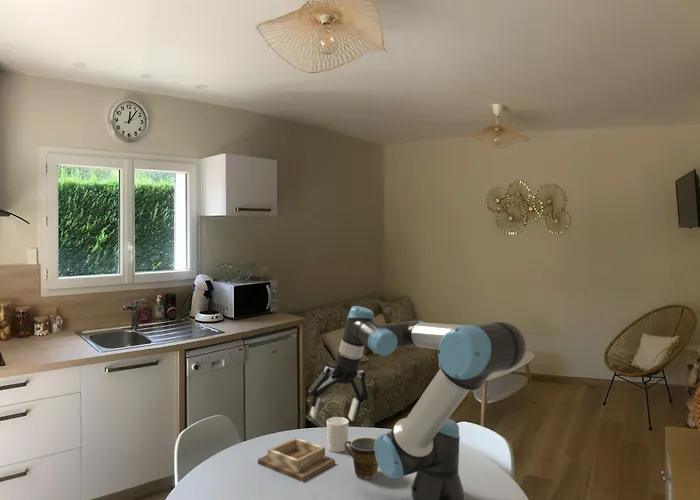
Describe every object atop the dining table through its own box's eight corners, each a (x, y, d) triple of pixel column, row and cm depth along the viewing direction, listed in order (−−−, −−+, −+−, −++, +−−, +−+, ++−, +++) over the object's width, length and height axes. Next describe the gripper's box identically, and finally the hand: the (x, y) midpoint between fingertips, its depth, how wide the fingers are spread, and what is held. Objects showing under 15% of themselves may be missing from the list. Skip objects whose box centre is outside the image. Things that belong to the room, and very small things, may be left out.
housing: (334, 463, 173) (335, 449, 172) (302, 481, 160) (302, 465, 160) (291, 447, 185) (291, 434, 184) (257, 463, 172) (257, 448, 172)
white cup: (322, 446, 187) (323, 418, 186) (342, 442, 190) (343, 415, 190) (331, 454, 180) (331, 426, 179) (351, 451, 183) (352, 423, 183)
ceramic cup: (386, 472, 167) (387, 441, 167) (372, 485, 158) (372, 453, 158) (352, 462, 174) (352, 433, 173) (336, 474, 165) (336, 443, 165)
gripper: (378, 354, 171) (361, 414, 174) (309, 345, 161) (292, 408, 163) (388, 363, 165) (370, 425, 167) (317, 354, 154) (299, 420, 156)
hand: (331, 417), depth 165 cm, fingers open, 13 cm apart
